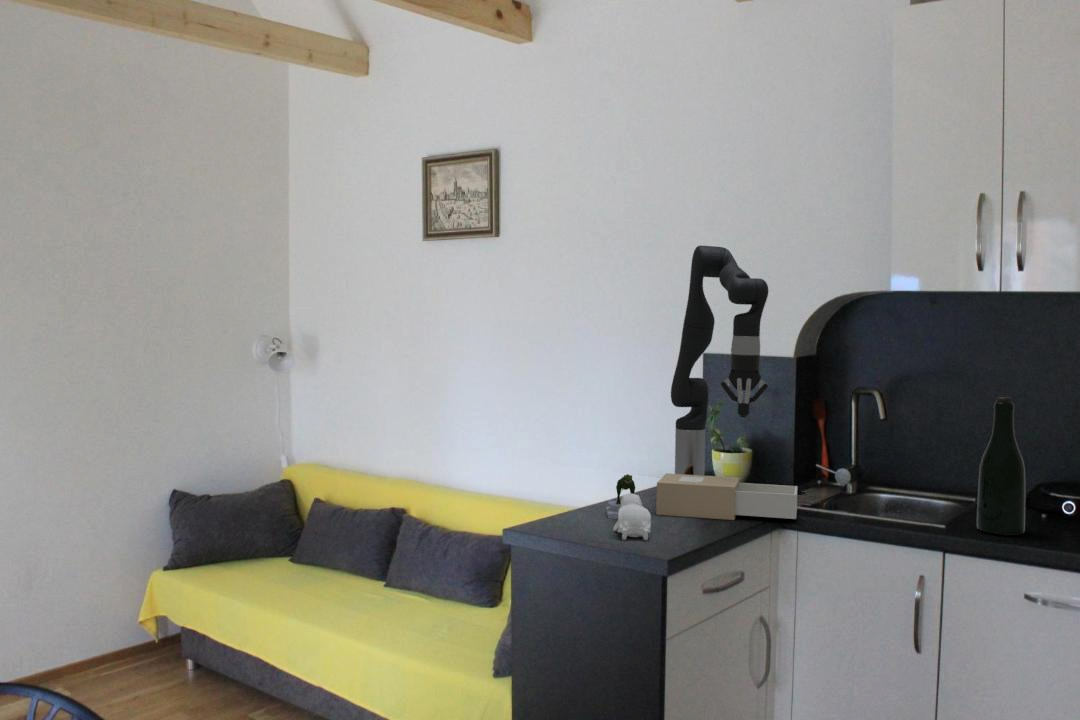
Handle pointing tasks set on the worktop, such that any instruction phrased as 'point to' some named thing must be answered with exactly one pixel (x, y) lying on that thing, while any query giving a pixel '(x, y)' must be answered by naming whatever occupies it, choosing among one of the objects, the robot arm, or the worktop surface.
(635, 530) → the white animal figurine
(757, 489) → the tray
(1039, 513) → the worktop surface
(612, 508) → the dinosaur figurine
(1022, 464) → the beer bottle
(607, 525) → the worktop surface
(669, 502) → the sleeve
